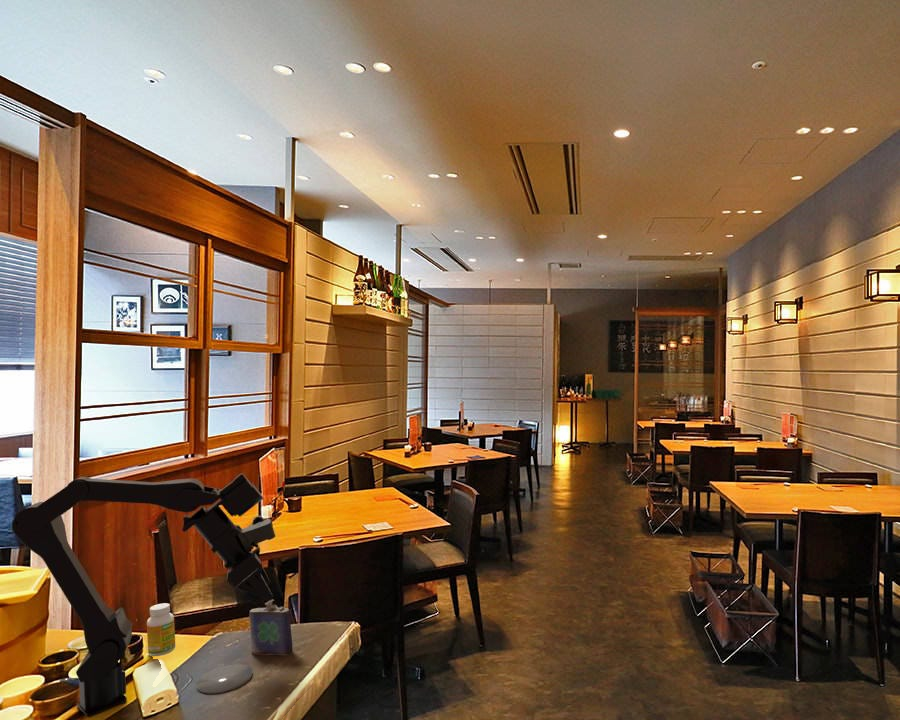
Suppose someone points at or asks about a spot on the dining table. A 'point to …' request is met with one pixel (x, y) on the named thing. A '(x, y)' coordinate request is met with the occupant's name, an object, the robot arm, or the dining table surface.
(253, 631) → the flask
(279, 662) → the dining table surface
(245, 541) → the robot arm
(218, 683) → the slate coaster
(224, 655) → the dining table surface
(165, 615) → the supplement bottle
